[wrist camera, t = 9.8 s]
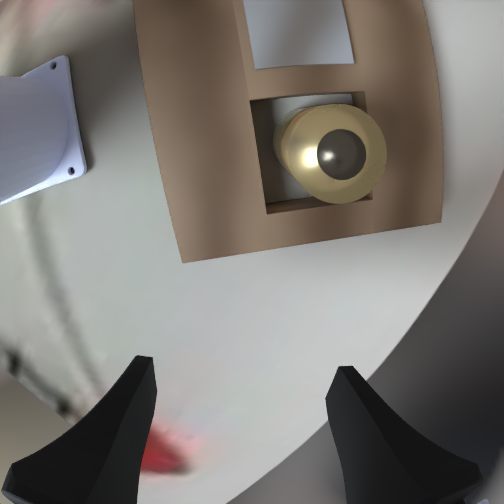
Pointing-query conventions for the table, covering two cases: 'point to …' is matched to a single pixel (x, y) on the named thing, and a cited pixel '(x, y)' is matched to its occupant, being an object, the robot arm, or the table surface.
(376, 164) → the brass bushing
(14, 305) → the table surface
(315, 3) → the jig plate
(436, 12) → the table surface
